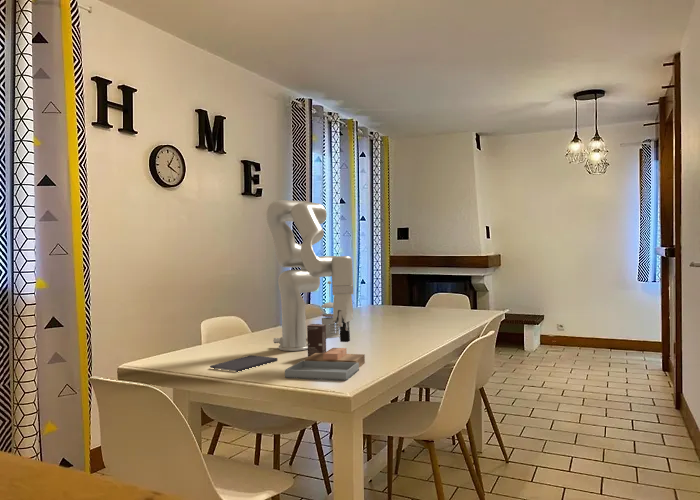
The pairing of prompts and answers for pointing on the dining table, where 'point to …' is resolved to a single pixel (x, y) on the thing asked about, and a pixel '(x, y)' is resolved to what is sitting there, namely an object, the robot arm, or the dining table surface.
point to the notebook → (244, 363)
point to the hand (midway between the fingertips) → (345, 341)
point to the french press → (330, 321)
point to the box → (316, 338)
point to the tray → (322, 370)
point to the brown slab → (346, 358)
